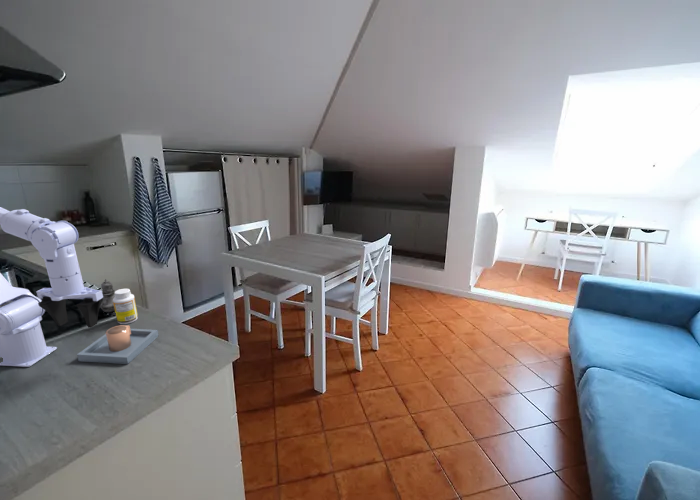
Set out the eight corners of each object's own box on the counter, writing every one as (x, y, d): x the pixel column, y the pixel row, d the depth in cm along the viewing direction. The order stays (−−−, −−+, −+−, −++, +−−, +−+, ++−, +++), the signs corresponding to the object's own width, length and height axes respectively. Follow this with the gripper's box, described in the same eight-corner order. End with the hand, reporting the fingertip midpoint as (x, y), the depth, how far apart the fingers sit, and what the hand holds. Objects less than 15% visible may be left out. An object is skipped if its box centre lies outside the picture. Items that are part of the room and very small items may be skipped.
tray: (78, 361, 84) (76, 354, 83) (115, 333, 96) (114, 327, 95) (128, 364, 83) (126, 357, 83) (158, 336, 96) (157, 330, 95)
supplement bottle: (125, 315, 106) (119, 286, 103) (142, 316, 106) (137, 287, 103) (112, 324, 101) (106, 294, 97) (131, 325, 101) (125, 295, 97)
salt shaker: (112, 318, 104) (105, 283, 100) (96, 316, 105) (89, 281, 101) (127, 309, 110) (121, 276, 106) (112, 307, 111) (106, 274, 107)
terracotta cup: (104, 350, 87) (100, 334, 86) (122, 337, 93) (119, 321, 92) (122, 352, 87) (118, 335, 85) (139, 338, 93) (136, 323, 91)
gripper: (17, 279, 73) (34, 332, 77) (80, 281, 73) (93, 334, 77) (47, 267, 80) (60, 317, 84) (104, 270, 79) (115, 319, 84)
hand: (77, 324), depth 81 cm, fingers open, 7 cm apart
